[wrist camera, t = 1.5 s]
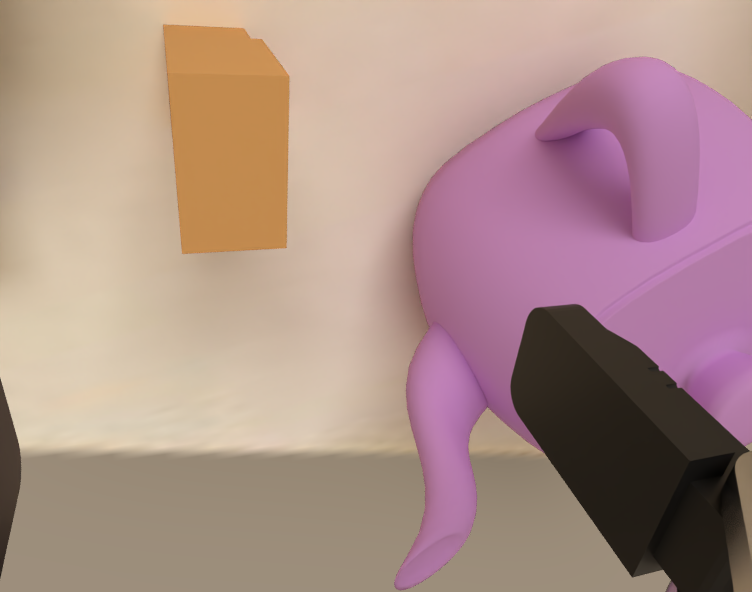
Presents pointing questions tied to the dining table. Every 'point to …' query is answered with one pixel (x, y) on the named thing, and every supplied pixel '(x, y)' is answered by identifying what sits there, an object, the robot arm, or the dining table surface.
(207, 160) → the orange block
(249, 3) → the dining table surface
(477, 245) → the teapot
